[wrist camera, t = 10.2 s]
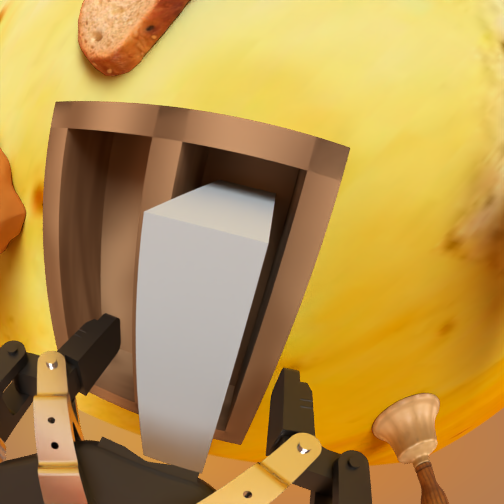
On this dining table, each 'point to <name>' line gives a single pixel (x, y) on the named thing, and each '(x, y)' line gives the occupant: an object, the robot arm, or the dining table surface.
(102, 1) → the slice of bread
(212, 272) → the white rectangular block
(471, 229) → the dining table surface
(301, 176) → the rack
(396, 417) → the hand bell
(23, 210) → the coffee package
